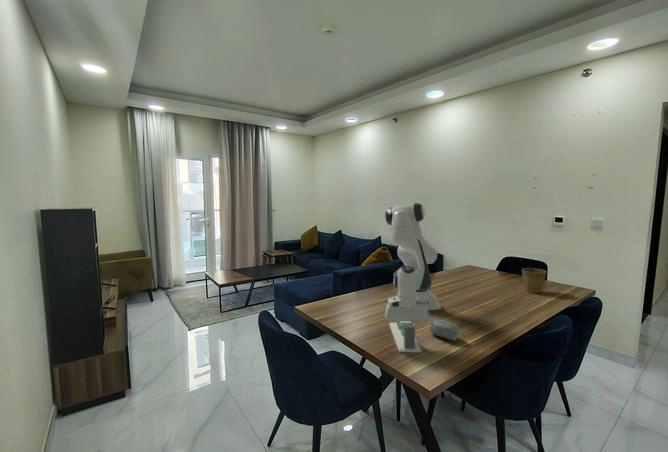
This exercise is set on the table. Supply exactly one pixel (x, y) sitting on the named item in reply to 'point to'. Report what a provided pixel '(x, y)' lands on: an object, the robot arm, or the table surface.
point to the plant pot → (533, 279)
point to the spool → (444, 329)
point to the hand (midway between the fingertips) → (406, 329)
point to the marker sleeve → (405, 326)
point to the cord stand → (405, 339)
